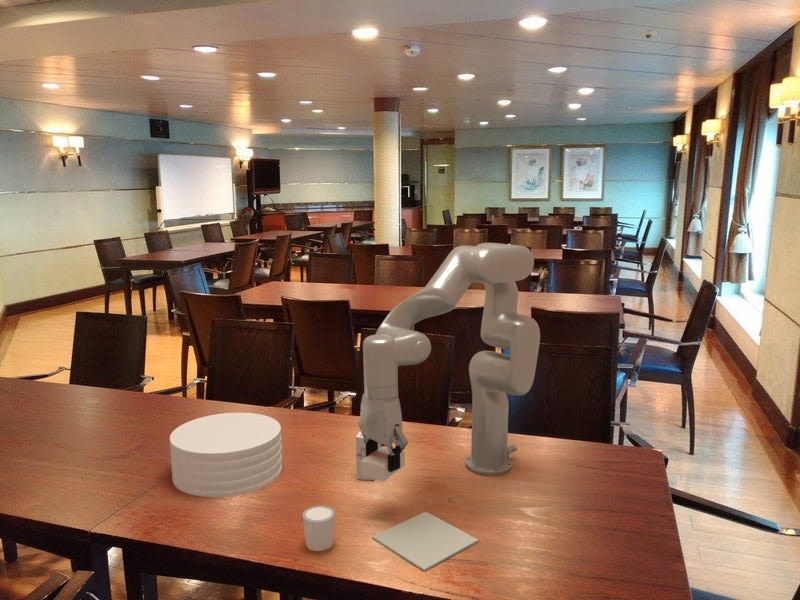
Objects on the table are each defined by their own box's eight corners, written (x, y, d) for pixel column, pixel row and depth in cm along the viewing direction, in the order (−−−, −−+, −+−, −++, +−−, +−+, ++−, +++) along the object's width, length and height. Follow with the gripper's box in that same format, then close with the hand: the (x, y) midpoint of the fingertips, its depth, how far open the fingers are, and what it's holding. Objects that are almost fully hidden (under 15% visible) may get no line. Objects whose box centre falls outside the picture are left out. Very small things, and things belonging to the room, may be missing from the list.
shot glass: (304, 535, 138) (303, 505, 137) (336, 534, 139) (335, 504, 138) (302, 553, 132) (301, 522, 131) (335, 552, 132) (335, 520, 131)
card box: (383, 459, 152) (382, 445, 151) (404, 465, 149) (404, 450, 148) (361, 475, 144) (360, 460, 144) (383, 481, 141) (382, 465, 141)
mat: (425, 513, 148) (425, 511, 148) (478, 541, 136) (478, 539, 136) (372, 538, 137) (372, 536, 137) (424, 571, 126) (424, 569, 125)
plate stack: (303, 471, 170) (302, 430, 168) (209, 509, 150) (206, 463, 148) (243, 442, 189) (242, 405, 187) (152, 473, 169) (149, 432, 167)
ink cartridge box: (364, 465, 173) (363, 413, 170) (381, 467, 172) (381, 415, 169) (355, 479, 165) (354, 425, 162) (374, 481, 164) (373, 427, 161)
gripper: (344, 385, 147) (346, 457, 150) (394, 404, 134) (395, 482, 137) (369, 377, 152) (371, 448, 155) (420, 395, 139) (421, 471, 142)
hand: (382, 463), depth 146 cm, fingers closed on card box, 7 cm apart
